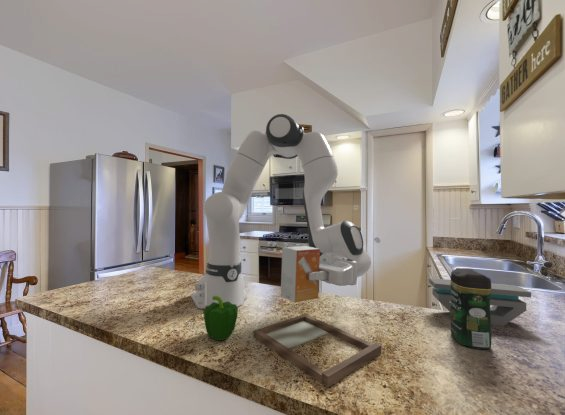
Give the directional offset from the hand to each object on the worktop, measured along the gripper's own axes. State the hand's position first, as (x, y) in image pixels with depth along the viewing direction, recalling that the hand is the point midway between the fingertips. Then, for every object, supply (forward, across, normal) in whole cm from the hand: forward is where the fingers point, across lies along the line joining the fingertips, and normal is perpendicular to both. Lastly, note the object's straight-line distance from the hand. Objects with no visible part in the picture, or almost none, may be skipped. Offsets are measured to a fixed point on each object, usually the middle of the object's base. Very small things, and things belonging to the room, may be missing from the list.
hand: (297, 273), depth 67 cm
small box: (-1, 0, +7) cm, 7 cm away
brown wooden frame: (-1, +5, +17) cm, 17 cm away
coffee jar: (-35, +29, +17) cm, 48 cm away
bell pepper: (+15, -13, +17) cm, 26 cm away
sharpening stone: (-55, +25, +17) cm, 63 cm away
